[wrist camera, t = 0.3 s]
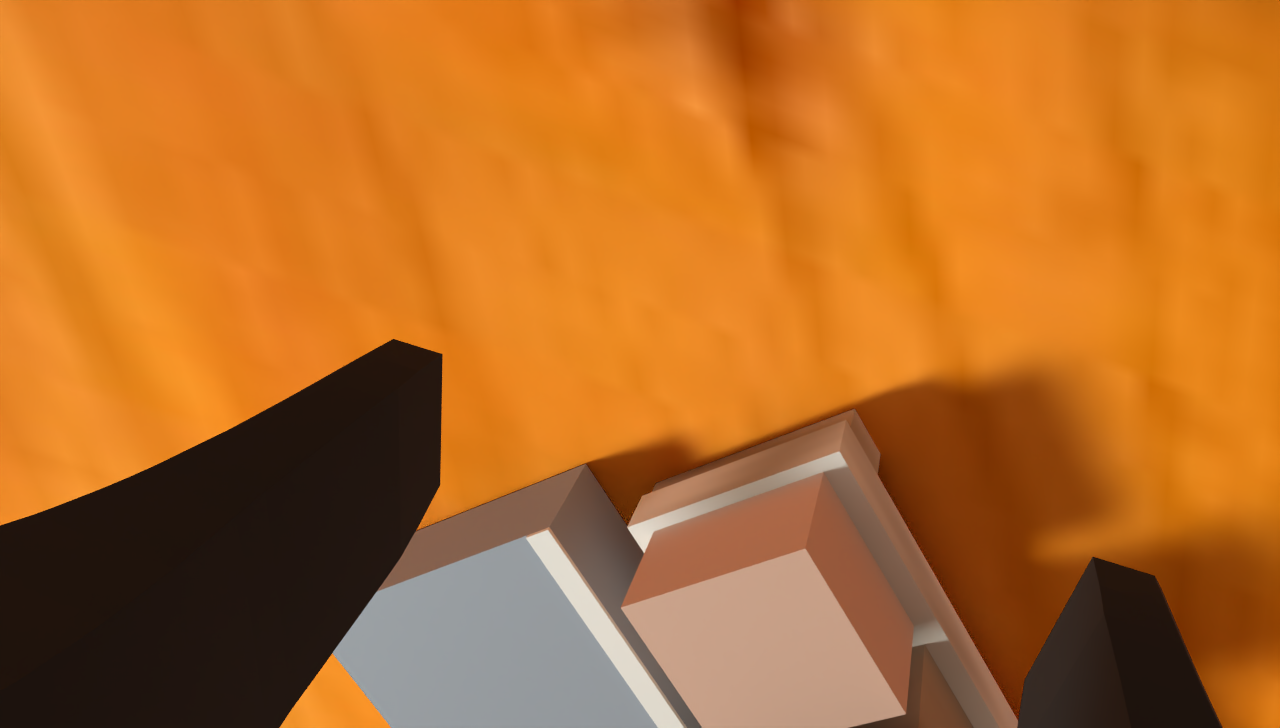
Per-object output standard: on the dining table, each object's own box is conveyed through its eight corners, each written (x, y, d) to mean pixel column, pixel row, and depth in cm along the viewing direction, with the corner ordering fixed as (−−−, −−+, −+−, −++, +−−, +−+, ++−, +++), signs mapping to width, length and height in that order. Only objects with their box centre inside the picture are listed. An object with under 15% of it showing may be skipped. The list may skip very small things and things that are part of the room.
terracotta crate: (745, 671, 25) (721, 757, 23) (653, 531, 24) (620, 607, 21) (913, 625, 23) (906, 714, 21) (823, 471, 22) (805, 548, 20)
